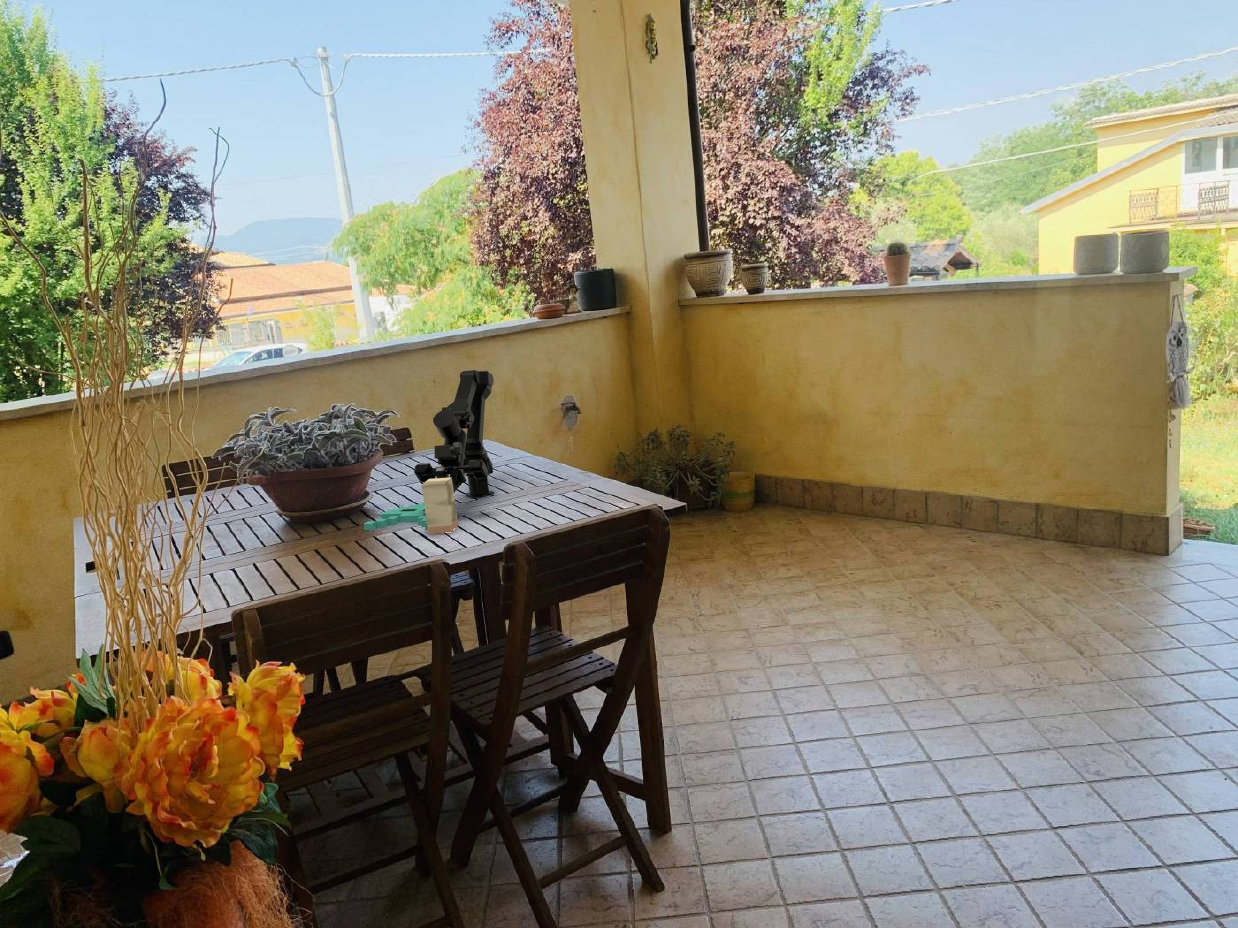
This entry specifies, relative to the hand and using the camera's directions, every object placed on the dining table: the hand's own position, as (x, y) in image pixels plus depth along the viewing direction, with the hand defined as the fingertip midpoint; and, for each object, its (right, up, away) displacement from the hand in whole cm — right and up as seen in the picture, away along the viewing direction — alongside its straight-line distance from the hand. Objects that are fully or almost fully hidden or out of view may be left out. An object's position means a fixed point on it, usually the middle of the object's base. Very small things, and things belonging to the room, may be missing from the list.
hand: (447, 498), depth 238 cm
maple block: (0, -8, -4) cm, 9 cm away
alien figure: (-10, -6, +10) cm, 15 cm away
